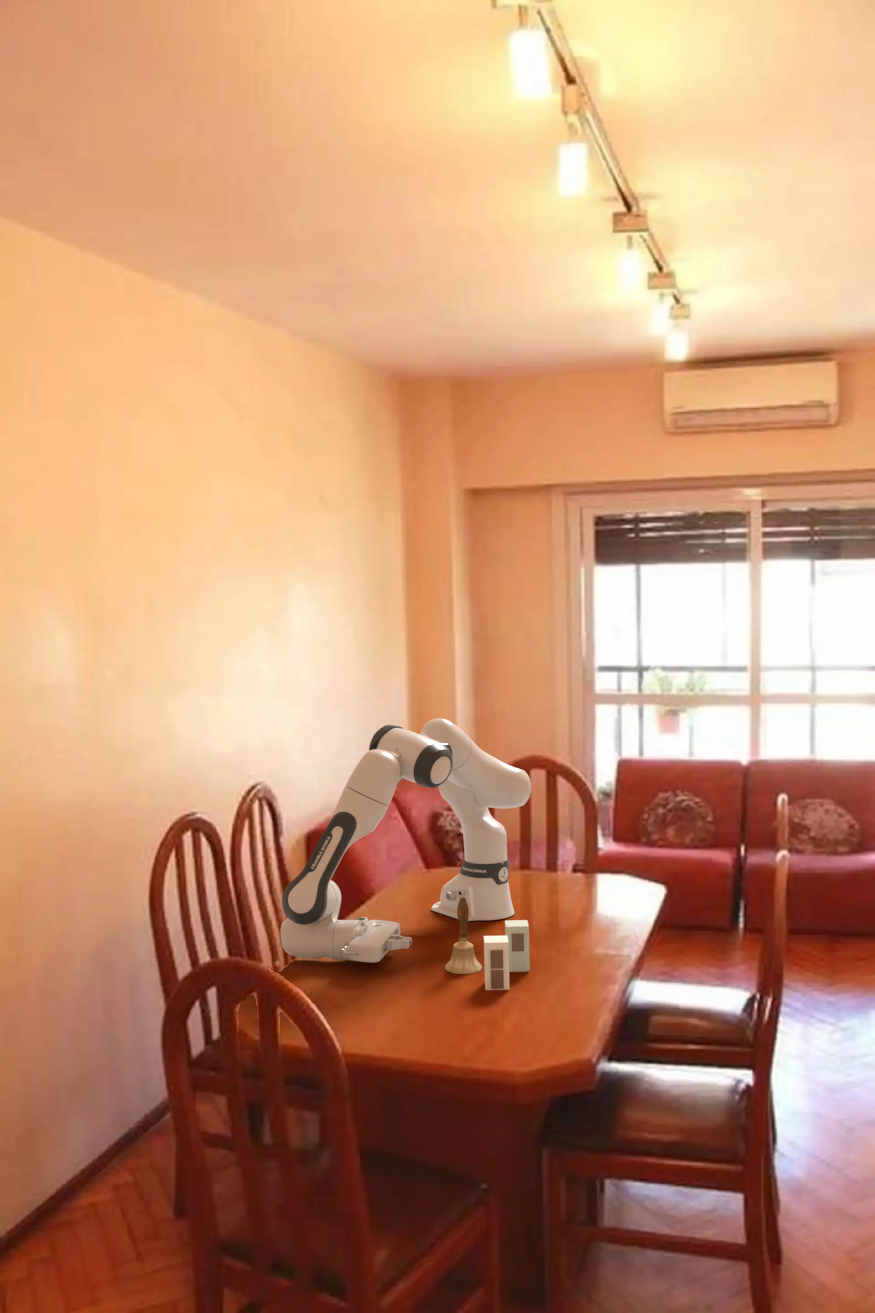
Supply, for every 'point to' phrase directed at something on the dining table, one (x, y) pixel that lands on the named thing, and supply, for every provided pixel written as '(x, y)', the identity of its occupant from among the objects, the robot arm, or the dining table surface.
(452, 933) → the dining table surface
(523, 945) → the sage block marked
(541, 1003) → the dining table surface
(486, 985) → the cream block marked
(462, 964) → the hand bell
